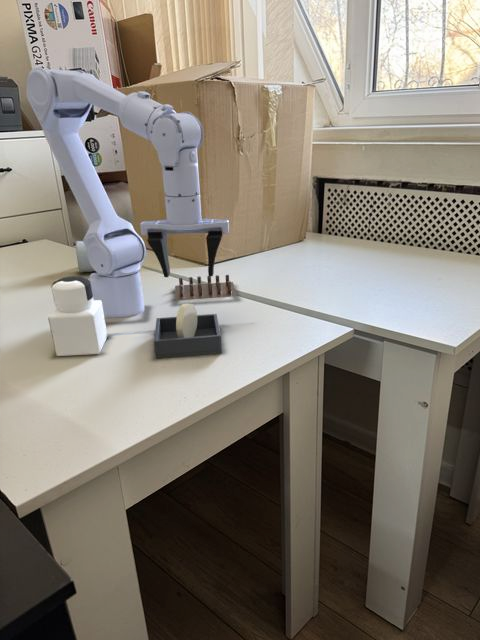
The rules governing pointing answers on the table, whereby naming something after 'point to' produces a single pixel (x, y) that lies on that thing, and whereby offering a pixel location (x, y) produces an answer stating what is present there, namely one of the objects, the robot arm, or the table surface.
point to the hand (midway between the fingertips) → (189, 275)
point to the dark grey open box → (187, 338)
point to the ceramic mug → (83, 258)
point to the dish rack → (204, 289)
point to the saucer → (186, 321)
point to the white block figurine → (76, 318)
